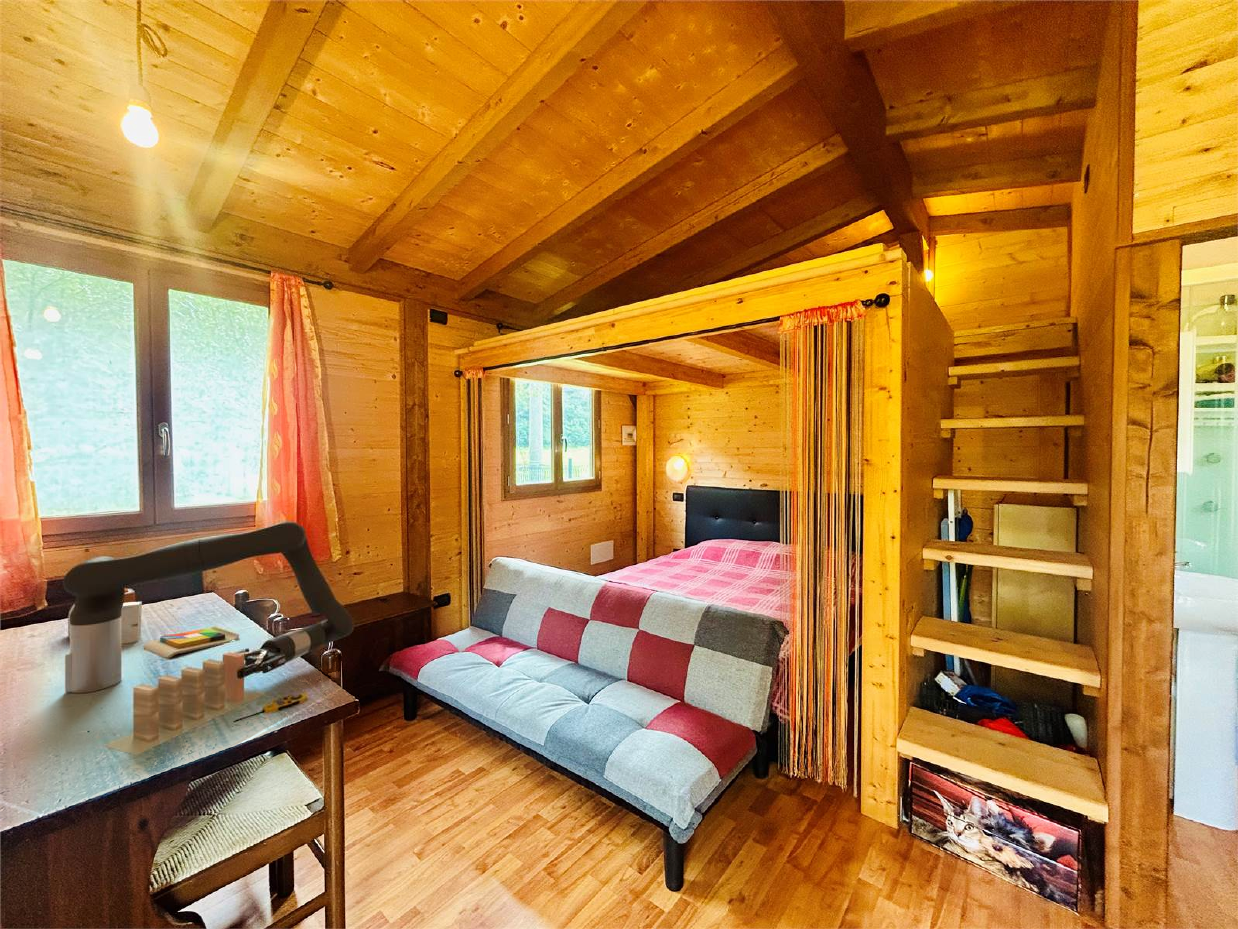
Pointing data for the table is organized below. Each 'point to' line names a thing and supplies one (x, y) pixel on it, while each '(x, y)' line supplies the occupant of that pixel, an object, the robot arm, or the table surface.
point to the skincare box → (131, 622)
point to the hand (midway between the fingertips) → (225, 672)
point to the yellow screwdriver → (280, 704)
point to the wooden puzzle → (189, 641)
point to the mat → (140, 746)
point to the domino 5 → (233, 676)
